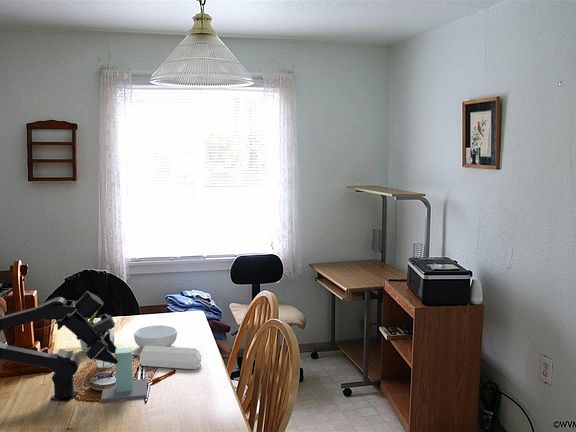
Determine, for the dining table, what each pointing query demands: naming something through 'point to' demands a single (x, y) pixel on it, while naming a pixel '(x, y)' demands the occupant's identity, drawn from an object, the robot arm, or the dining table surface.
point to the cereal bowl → (155, 336)
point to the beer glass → (106, 364)
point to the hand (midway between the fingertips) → (117, 358)
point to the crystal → (170, 357)
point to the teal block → (124, 370)
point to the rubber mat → (136, 393)
